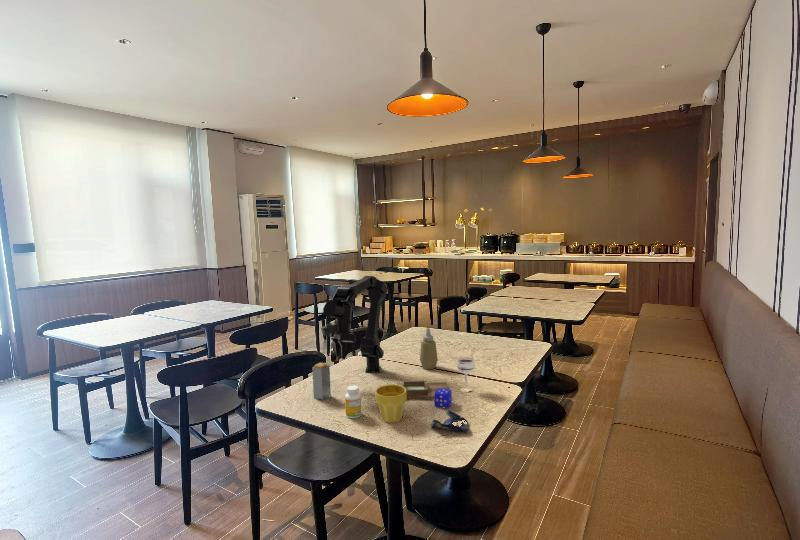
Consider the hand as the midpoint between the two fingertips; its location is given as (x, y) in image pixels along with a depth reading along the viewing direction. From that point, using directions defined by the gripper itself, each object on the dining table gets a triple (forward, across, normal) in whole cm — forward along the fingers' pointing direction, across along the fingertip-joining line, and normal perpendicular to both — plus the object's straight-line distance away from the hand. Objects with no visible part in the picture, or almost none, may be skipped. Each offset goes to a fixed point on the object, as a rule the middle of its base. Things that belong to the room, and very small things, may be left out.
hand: (340, 357), depth 164 cm
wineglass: (+9, +20, +46) cm, 51 cm away
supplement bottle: (+17, +22, +1) cm, 28 cm away
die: (+12, +28, +32) cm, 44 cm away
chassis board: (+10, +14, +30) cm, 34 cm away
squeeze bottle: (+4, -10, +44) cm, 45 cm away
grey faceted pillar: (+15, +2, -6) cm, 16 cm away
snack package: (+16, +44, +26) cm, 53 cm away
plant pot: (+16, +30, +12) cm, 36 cm away
